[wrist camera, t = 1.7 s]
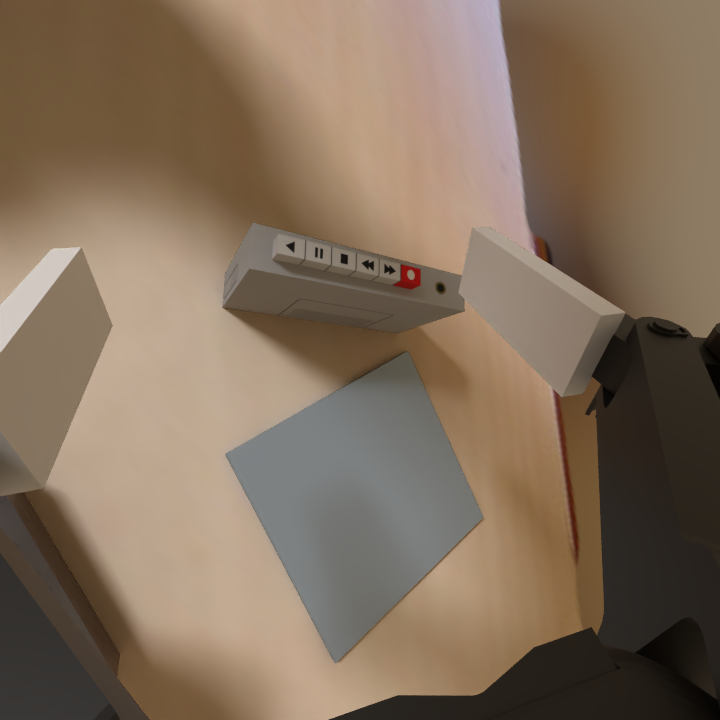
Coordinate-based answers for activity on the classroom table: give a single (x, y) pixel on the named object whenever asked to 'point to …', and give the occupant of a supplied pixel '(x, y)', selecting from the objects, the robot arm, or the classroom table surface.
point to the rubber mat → (358, 498)
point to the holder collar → (54, 571)
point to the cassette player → (335, 283)
